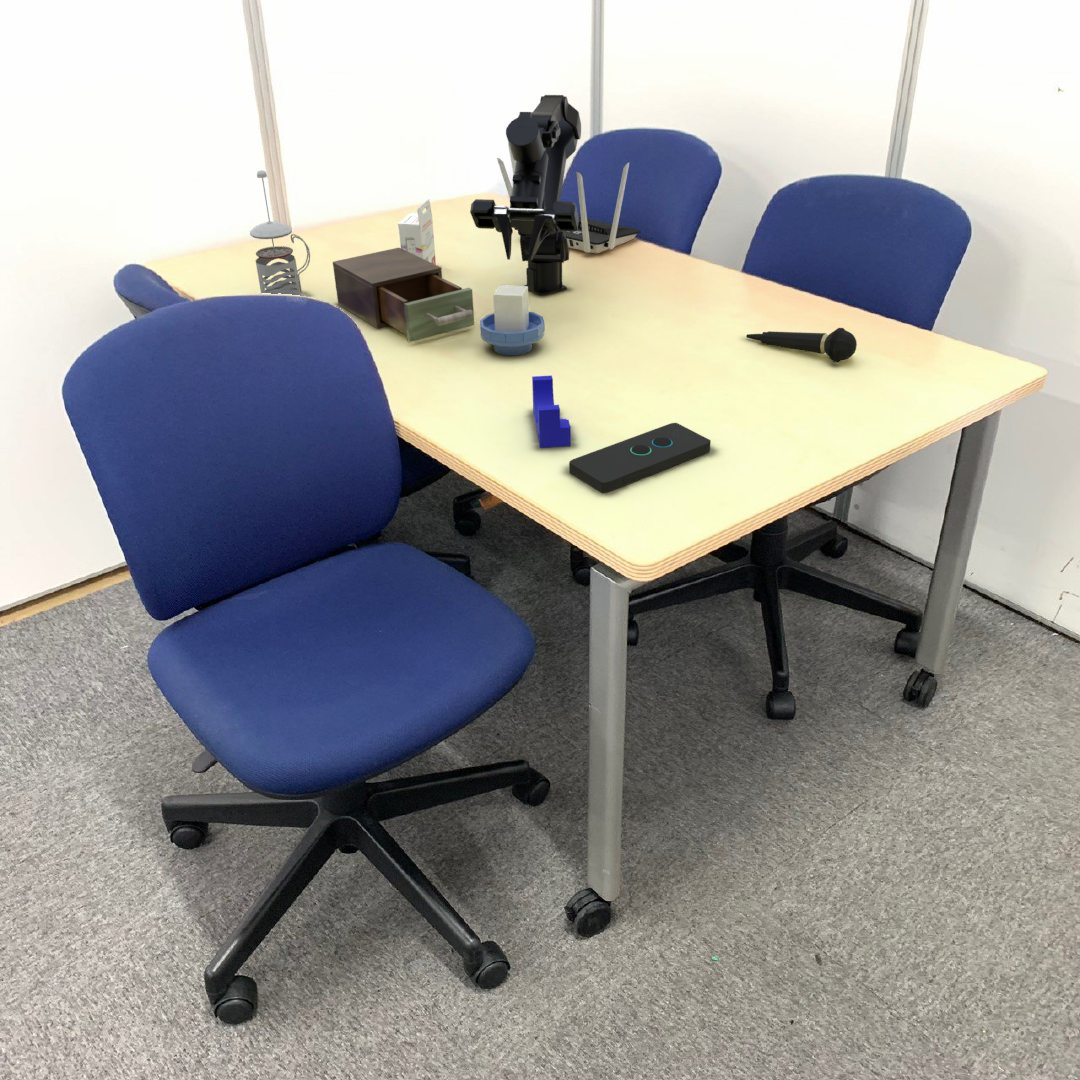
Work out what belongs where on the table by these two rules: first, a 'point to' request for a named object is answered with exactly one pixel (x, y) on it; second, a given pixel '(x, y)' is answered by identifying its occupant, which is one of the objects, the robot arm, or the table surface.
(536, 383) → the blue stepped block
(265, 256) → the french press
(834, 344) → the microphone
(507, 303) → the white block
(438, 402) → the table surface
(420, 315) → the drawer
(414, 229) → the ink cartridge box
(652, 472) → the smart home device
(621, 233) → the wireless router
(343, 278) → the cabinet
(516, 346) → the blue bowl
